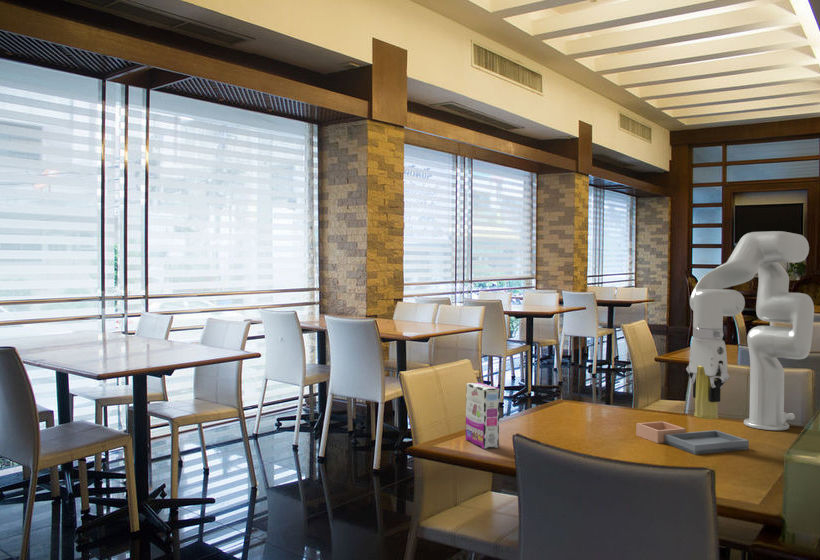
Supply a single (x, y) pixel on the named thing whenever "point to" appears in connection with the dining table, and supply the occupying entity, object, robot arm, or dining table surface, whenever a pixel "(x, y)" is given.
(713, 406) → the vase
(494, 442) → the candy bar box
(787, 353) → the robot arm
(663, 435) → the holder
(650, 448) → the dining table surface
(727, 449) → the tray
